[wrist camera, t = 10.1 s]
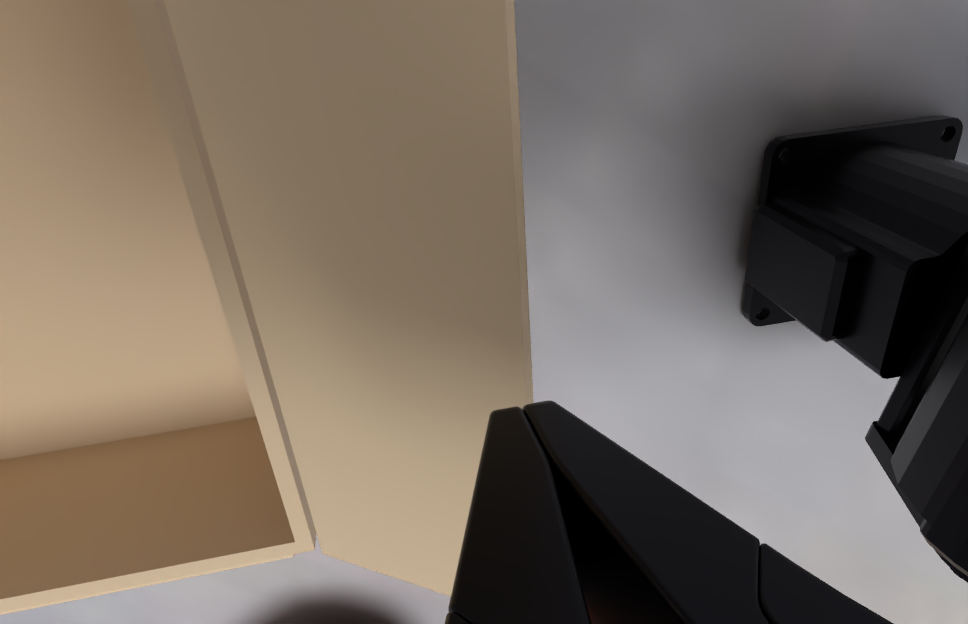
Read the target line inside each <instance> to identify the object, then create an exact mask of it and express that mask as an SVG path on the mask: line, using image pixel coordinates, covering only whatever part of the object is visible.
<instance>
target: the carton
mask: <svg viewBox="0 0 968 624" xmlns="http://www.w3.org/2000/svg"><path fill="white" fill-rule="evenodd" d="M315 542H316V529H315V526H314V522H313V519H312V515H311V512H310V508H309V505H308V501H307V498H306V494H305V491H304V487H303V484H302V480H301V477H300V473H299V470H298V466H297V463H296V459H295V456H294V452H293V449H292V445H291V442H290V438H289V435H288V431H287V428H286V424H285V421H284V417H283V414H282V410H281V407H280V403H279V400H278V396H277V393H276V389H275V386H274V382H273V379H272V375H271V372H270V368H269V365H268V361H267V358H266V354H265V351H264V347H263V344H262V340H261V337H260V333H259V330H258V326H257V323H256V319H255V316H254V312H253V309H252V305H251V302H250V298H249V295H248V291H247V288H246V284H245V281H244V277H243V274H242V270H241V267H240V263H239V260H238V256H237V253H236V249H235V246H234V242H233V239H232V235H231V232H230V228H229V225H228V221H227V218H226V214H225V211H224V207H223V204H222V200H221V197H220V193H219V190H218V186H217V183H216V179H215V176H214V172H213V169H212V165H211V162H210V158H209V155H208V151H207V148H206V144H205V141H204V137H203V134H202V130H201V127H200V123H199V120H198V116H197V113H196V109H195V106H194V102H193V99H192V95H191V92H190V88H189V85H188V81H187V78H186V74H185V71H184V67H183V64H182V60H181V57H180V53H179V50H178V46H177V43H176V39H175V36H174V32H173V29H172V25H171V22H170V18H169V15H168V11H167V8H166V4H165V1H164V0H0V615H2V614H7V613H12V612H17V611H22V610H27V609H32V608H37V607H42V606H47V605H52V604H58V603H63V602H68V601H73V600H78V599H83V598H88V597H93V596H98V595H103V594H108V593H113V592H118V591H123V590H128V589H133V588H138V587H143V586H148V585H154V584H159V583H164V582H169V581H174V580H179V579H184V578H189V577H194V576H199V575H204V574H209V573H214V572H219V571H224V570H229V569H234V568H239V567H245V566H250V565H255V564H260V563H265V562H270V561H275V560H280V559H285V558H290V557H294V554H297V553H302V552H307V551H312V550H315Z"/></svg>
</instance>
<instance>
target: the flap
mask: <svg viewBox="0 0 968 624" xmlns="http://www.w3.org/2000/svg"><path fill="white" fill-rule="evenodd" d="M164 1H165V4H166V8H167V11H168V15H169V18H170V22H171V25H172V29H173V32H174V36H175V39H176V43H177V46H178V50H179V53H180V57H181V60H182V64H183V67H184V71H185V74H186V78H187V81H188V85H189V88H190V92H191V95H192V99H193V102H194V106H195V109H196V113H197V116H198V120H199V123H200V127H201V130H202V134H203V137H204V141H205V144H206V148H207V151H208V155H209V158H210V162H211V165H212V169H213V172H214V176H215V179H216V183H217V186H218V190H219V193H220V197H221V200H222V204H223V207H224V211H225V214H226V218H227V221H228V225H229V228H230V232H231V235H232V239H233V242H234V246H235V249H236V253H237V256H238V260H239V263H240V267H241V270H242V274H243V277H244V281H245V284H246V288H247V291H248V295H249V298H250V302H251V305H252V309H253V312H254V316H255V319H256V323H257V326H258V330H259V333H260V337H261V340H262V344H263V347H264V351H265V354H266V358H267V361H268V365H269V368H270V372H271V375H272V379H273V382H274V386H275V389H276V393H277V396H278V400H279V403H280V407H281V410H282V414H283V417H284V421H285V424H286V428H287V431H288V435H289V438H290V442H291V445H292V449H293V452H294V456H295V459H296V463H297V466H298V470H299V473H300V477H301V480H302V484H303V487H304V491H305V494H306V498H307V501H308V505H309V508H310V512H311V515H312V519H313V522H314V526H315V529H316V533H317V536H318V540H319V543H320V547H321V550H322V554H325V555H328V556H331V557H334V558H337V559H340V560H343V561H346V562H349V563H352V564H355V565H358V566H361V567H364V568H367V569H370V570H373V571H376V572H379V573H382V574H385V575H388V576H391V577H394V578H397V579H400V580H403V581H406V582H409V583H412V584H415V585H418V586H421V587H424V588H427V589H430V590H433V591H436V592H439V593H442V594H445V595H448V596H451V594H452V590H453V585H454V580H455V576H456V571H457V566H458V562H459V557H460V552H461V547H462V543H463V538H464V533H465V529H466V524H467V519H468V515H469V510H470V505H471V500H472V496H473V491H474V486H475V482H476V477H477V472H478V468H479V463H480V458H481V454H482V449H483V444H484V439H485V435H486V430H487V425H488V421H489V416H490V414H491V412H492V411H494V410H498V409H504V408H509V407H515V406H517V407H520V408H521V409H522V408H523V407H524V406H525V405H527V404H532V403H533V384H532V363H531V342H530V321H529V300H528V280H527V259H526V238H525V217H524V196H523V176H522V155H521V134H520V113H519V92H518V72H517V51H516V30H515V9H514V0H164Z"/></svg>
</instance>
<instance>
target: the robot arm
mask: <svg viewBox="0 0 968 624" xmlns="http://www.w3.org/2000/svg"><path fill="white" fill-rule="evenodd" d="M944 129H945V132H944V134H943V135H942V136H941V133H942V131H943V130H944ZM962 129H963V125H962V122H961V121H960V120H959V119H958V118H954V117H949V116H943V115H942V116H934V117H926V118H918V119H911V120H903V121H895V122H887V123H880V124H872V125H864V126H856V127H848V128H841V129H833V130H825V131H817V132H810V133H802V134H794V135H786V136H781V137H778V138H775V139H774V140H773V141H771V142H770V144H769V145H768V147H767V148H766V151H765V154H764V162H763V169H762V176H761V184H760V191H759V198H758V206H757V209H756V211H755V213H754V219H753V226H752V234H751V241H750V249H749V256H748V263H747V271H746V281H747V286H746V294H745V301H744V308H743V315H744V317H745V318H746V319H747V320H748V321H749V322H750V323H751V324H753V325H755V326H765V325H771V324H777V323H783V322H789V321H795V320H797V321H798V322H800V323H801V324H802V325H804V326H805V327H806V328H807V329H809V330H810V331H811V332H813V333H814V334H815V335H817V336H818V337H819V338H820V339H822V340H823V341H826V342H828V341H834V342H836V343H837V344H838V345H839V346H841V347H842V348H843V349H845V350H846V351H847V352H849V353H850V354H851V355H853V356H854V357H855V358H857V359H858V360H859V361H861V362H862V363H863V364H865V365H866V366H867V367H869V368H870V369H871V370H873V371H874V372H875V373H877V374H878V375H879V376H881V377H882V378H886V379H888V378H894V377H899V376H900V378H899V380H898V382H897V384H896V386H895V388H894V390H893V392H892V394H891V396H890V398H889V400H888V402H887V404H886V406H885V408H884V410H883V412H882V414H881V416H880V418H879V420H878V421H874V422H873V423H872V425H871V427H870V429H869V431H868V433H867V435H866V437H865V440H866V442H867V443H868V445H869V446H870V448H871V450H872V451H873V453H874V454H875V456H876V458H877V459H878V461H879V462H880V464H881V466H882V467H883V469H884V471H885V472H886V474H887V475H888V477H889V479H890V480H891V482H892V483H893V485H894V487H895V488H896V490H897V491H898V493H899V495H900V496H901V498H902V500H903V501H904V503H905V504H906V506H907V508H908V509H909V511H910V512H911V514H912V516H913V517H914V519H915V520H916V522H917V524H918V525H919V527H920V531H921V533H922V535H923V536H924V538H925V540H926V541H927V543H928V544H929V545H930V546H932V547H933V548H934V550H935V551H936V552H937V554H938V555H939V556H940V558H941V559H942V560H943V561H944V562H945V563H946V564H947V565H948V566H949V567H950V568H951V570H952V571H953V572H954V573H955V574H956V575H958V576H959V577H960V578H962V579H964V580H965V581H966V582H968V165H967V164H964V163H960V162H957V161H954V159H955V156H956V152H957V149H958V145H959V142H960V138H961V135H962ZM785 148H787V153H786V156H785V157H784V158H783V159H781V160H780V159H779V156H780V153H781V152H782V151H783V150H784V149H785ZM760 308H763V309H762V311H761V312H760V313H759V314H756V313H757V311H758V310H759V309H760ZM445 624H893V623H891V622H890V621H888V620H886V619H885V618H883V617H881V616H880V615H878V614H876V613H874V612H873V611H871V610H869V609H868V608H866V607H864V606H863V605H861V604H859V603H857V602H856V601H854V600H852V599H851V598H849V597H847V596H845V595H844V594H842V593H841V592H839V591H837V590H836V589H834V588H833V587H831V586H830V585H828V584H826V583H825V582H823V581H822V580H820V579H819V578H817V577H816V576H814V575H812V574H811V573H809V572H808V571H806V570H805V569H803V568H802V567H800V566H798V565H797V564H795V563H794V562H792V561H791V560H789V559H788V558H786V557H785V556H783V555H782V554H780V553H779V552H777V551H776V550H774V549H773V548H771V547H770V546H768V545H767V544H761V545H760V542H759V539H758V538H756V537H755V536H753V535H752V534H750V533H749V532H747V531H746V530H744V529H743V528H741V527H740V526H738V525H737V524H735V523H734V522H732V521H731V520H729V519H728V518H726V517H725V516H723V515H722V514H720V513H719V512H717V511H716V510H715V509H713V508H712V507H710V506H709V505H707V504H706V503H704V502H703V501H701V500H700V499H698V498H697V497H695V496H694V495H692V494H691V493H689V492H688V491H686V490H685V489H683V488H682V487H680V486H679V485H677V484H676V483H674V482H673V481H671V480H670V479H668V478H667V477H665V476H664V475H662V474H661V473H660V472H658V471H657V470H655V469H654V468H652V467H651V466H649V465H648V464H646V463H645V462H643V461H642V460H640V459H639V458H637V457H636V456H634V455H633V454H631V453H630V452H628V451H627V450H625V449H624V448H622V447H621V446H619V445H618V444H616V443H615V442H613V441H612V440H610V439H609V438H608V437H606V436H605V435H603V434H602V433H600V432H599V431H597V430H596V429H594V428H593V427H591V426H590V425H588V424H587V423H585V422H584V421H582V420H581V419H579V418H578V417H576V416H575V415H573V414H572V413H570V412H569V411H567V410H566V409H564V408H563V407H561V406H560V405H558V404H557V403H555V402H553V401H543V402H537V403H532V404H527V405H525V406H524V407H523V408H522V409H521V408H520V407H517V406H515V407H509V408H504V409H498V410H494V411H492V412H491V414H490V416H489V421H488V425H487V430H486V435H485V439H484V444H483V449H482V454H481V458H480V463H479V468H478V472H477V477H476V482H475V486H474V491H473V496H472V500H471V505H470V510H469V515H468V519H467V524H466V529H465V533H464V538H463V543H462V547H461V552H460V557H459V562H458V566H457V571H456V576H455V580H454V585H453V590H452V594H451V599H450V604H449V613H448V614H447V616H446V621H445Z"/></svg>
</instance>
